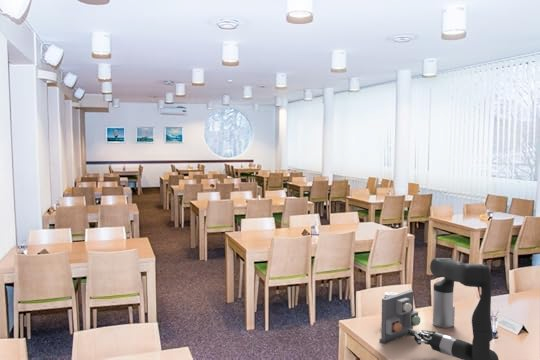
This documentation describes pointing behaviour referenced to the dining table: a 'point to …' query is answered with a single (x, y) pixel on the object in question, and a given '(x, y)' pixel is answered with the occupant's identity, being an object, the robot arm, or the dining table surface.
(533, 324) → the dining table surface
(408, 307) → the cream button
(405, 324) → the button panel
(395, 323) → the terracotta button
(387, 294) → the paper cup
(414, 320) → the sage button
